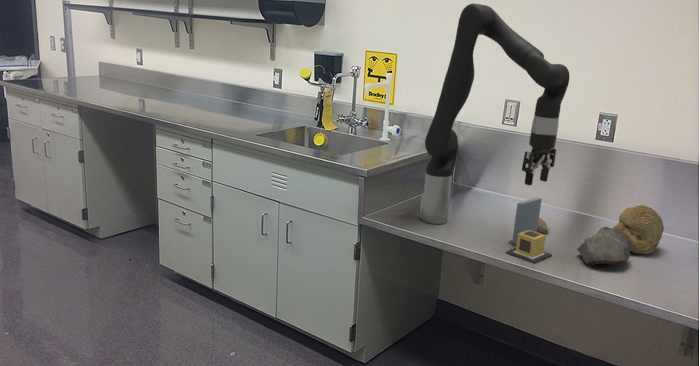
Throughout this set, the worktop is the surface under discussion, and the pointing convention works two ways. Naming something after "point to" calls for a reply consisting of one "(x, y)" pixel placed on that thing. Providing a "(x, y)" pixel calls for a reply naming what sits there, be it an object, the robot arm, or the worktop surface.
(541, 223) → the rock
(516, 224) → the screen
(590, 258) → the stone
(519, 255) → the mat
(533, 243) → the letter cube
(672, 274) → the worktop surface
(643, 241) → the fossil
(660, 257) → the worktop surface
